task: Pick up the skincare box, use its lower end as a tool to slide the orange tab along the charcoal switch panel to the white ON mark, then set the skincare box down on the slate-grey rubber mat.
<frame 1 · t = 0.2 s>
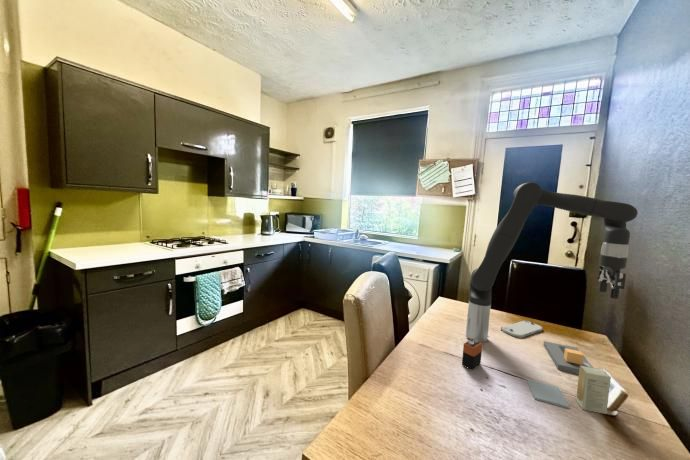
hand: (607, 294, 106), 29 cm above the table, tool pointing down, fingers open, 8 cm apart
battery: (471, 365, 104), on the table
slider tab: (573, 356, 105), point 4 cm above the table, slide at 0.0 cm
skincare box: (589, 407, 84), on the table
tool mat: (546, 393, 89), on the table
switch panel: (567, 360, 110), on the table
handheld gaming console: (521, 331, 136), on the table
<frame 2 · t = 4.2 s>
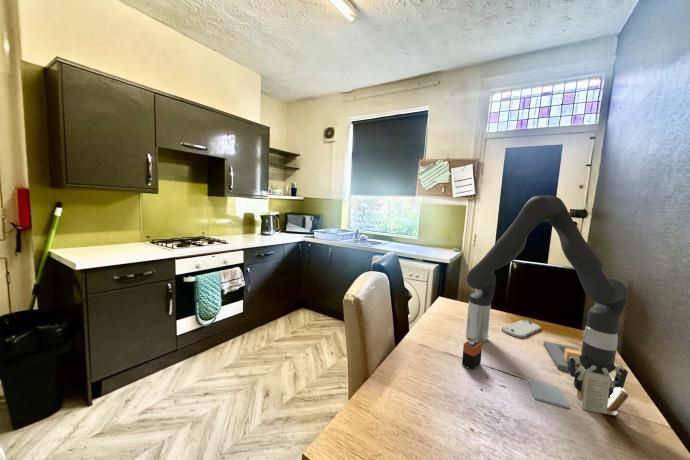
hand: (592, 393, 84), 5 cm above the table, tool pointing down, fingers closed on skincare box, 6 cm apart
skincare box: (589, 407, 84), on the table, touching gripper
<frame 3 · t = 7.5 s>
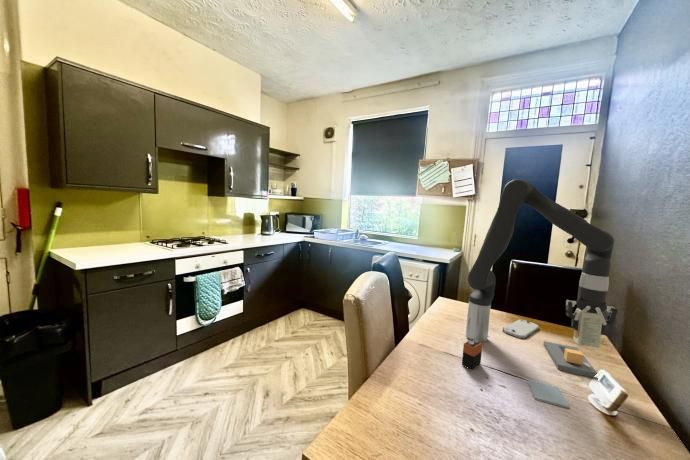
hand: (587, 331, 96), 18 cm above the table, tool pointing down, fingers closed on skincare box, 6 cm apart
skincare box: (585, 344, 97), point 14 cm above the table, touching gripper
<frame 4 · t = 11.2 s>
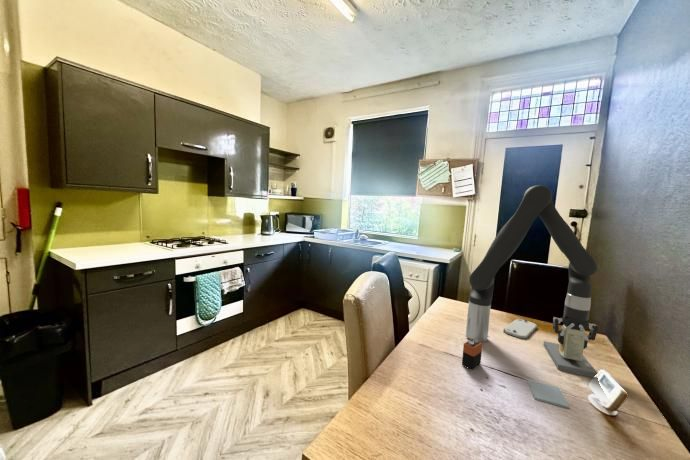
hand: (571, 345, 107), 8 cm above the table, tool pointing down, fingers closed on skincare box, 6 cm apart
slider tab: (567, 348, 111), point 4 cm above the table, slide at 6.2 cm, touching skincare box
skincare box: (569, 357, 108), point 3 cm above the table, touching gripper, slider tab
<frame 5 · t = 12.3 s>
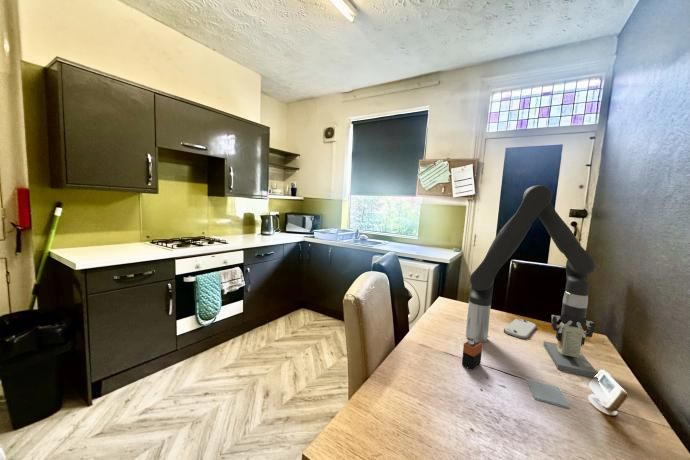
hand: (569, 342, 110), 8 cm above the table, tool pointing down, fingers closed on skincare box, 6 cm apart
slider tab: (565, 345, 113), point 4 cm above the table, slide at 8.8 cm, touching skincare box
skincare box: (567, 354, 110), point 3 cm above the table, touching gripper, slider tab
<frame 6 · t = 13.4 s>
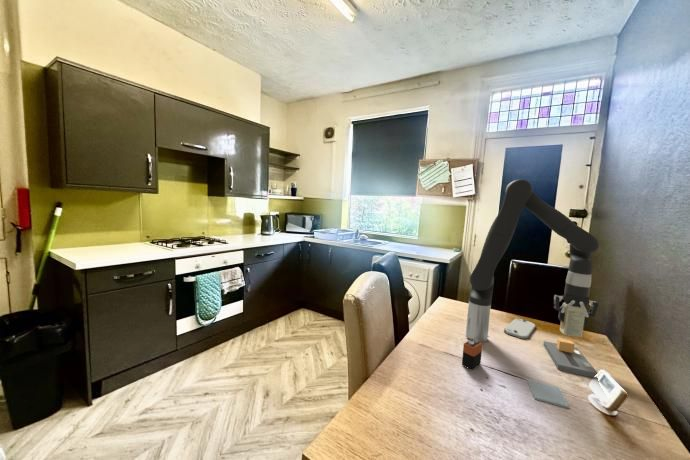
hand: (571, 322, 109), 16 cm above the table, tool pointing down, fingers closed on skincare box, 6 cm apart
slider tab: (565, 345, 114), point 4 cm above the table, slide at 9.1 cm
skincare box: (569, 334, 109), point 11 cm above the table, touching gripper
when the fingers open (7 cm above the table, at t = 19.0 s): skincare box drops 1 cm, resting on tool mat.
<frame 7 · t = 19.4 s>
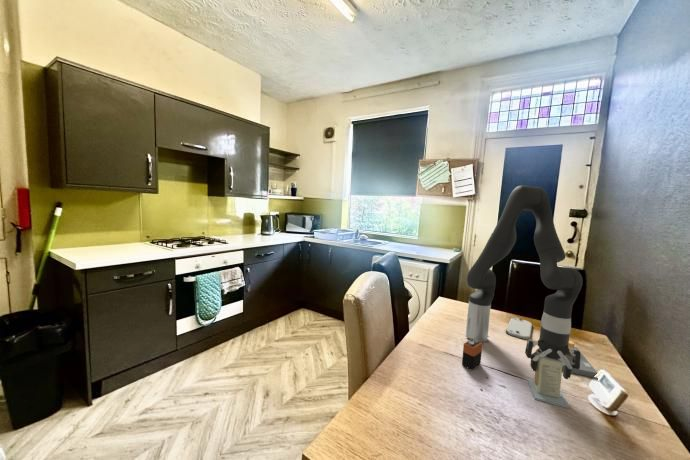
hand: (549, 373, 89), 7 cm above the table, tool pointing down, fingers open, 8 cm apart
skincare box: (545, 392, 90), resting on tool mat
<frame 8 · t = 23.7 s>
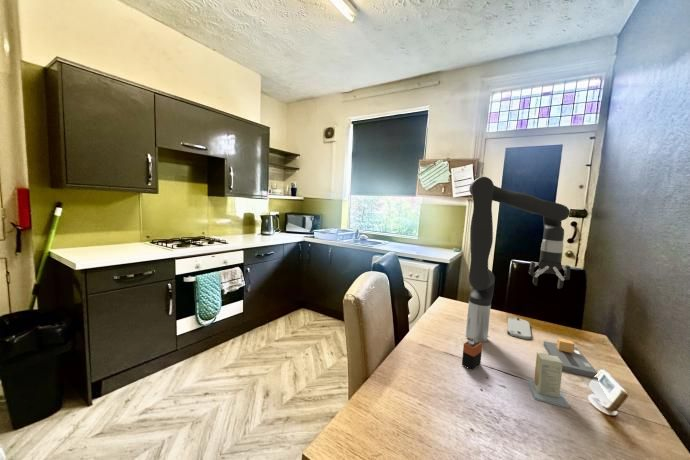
hand: (547, 286, 117), 28 cm above the table, tool pointing down, fingers open, 8 cm apart
at the end: slider tab slide at 9.1 cm; skincare box inside the target area (0.4 cm from its centre), resting on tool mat; skincare box tilted 0° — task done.
